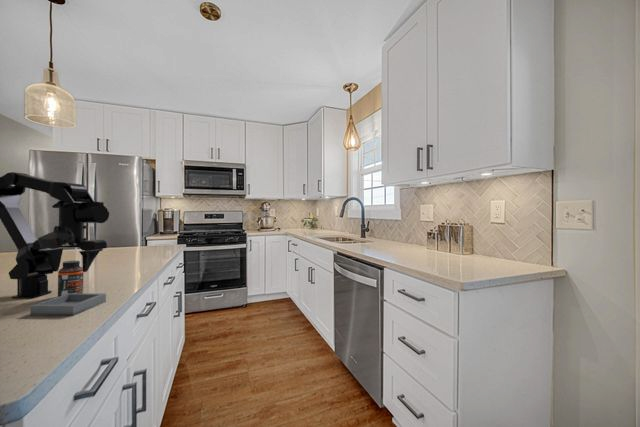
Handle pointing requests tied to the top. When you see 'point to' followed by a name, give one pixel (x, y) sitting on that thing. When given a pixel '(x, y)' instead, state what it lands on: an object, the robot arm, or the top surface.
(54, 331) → the top surface
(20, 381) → the top surface
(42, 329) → the top surface
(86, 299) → the tray
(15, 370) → the top surface
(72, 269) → the supplement bottle
